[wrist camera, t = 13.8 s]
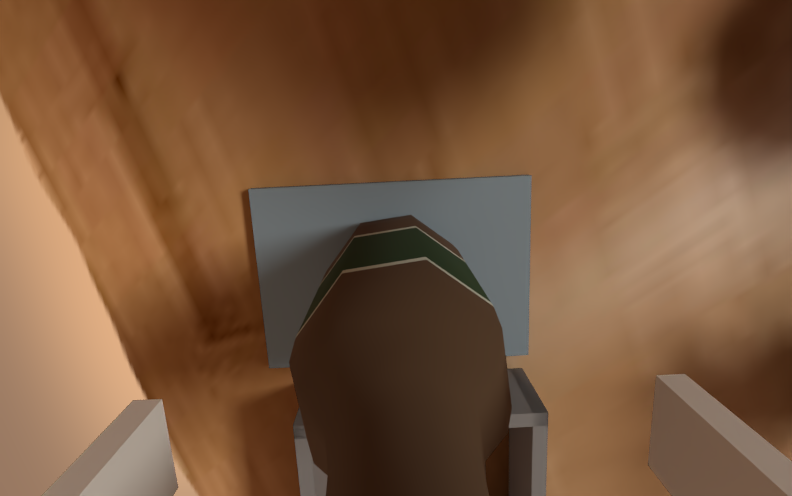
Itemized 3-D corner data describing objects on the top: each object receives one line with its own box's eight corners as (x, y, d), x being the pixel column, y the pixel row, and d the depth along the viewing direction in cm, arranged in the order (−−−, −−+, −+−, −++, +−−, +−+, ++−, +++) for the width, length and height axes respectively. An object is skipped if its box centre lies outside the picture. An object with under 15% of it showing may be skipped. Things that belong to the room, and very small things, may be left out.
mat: (251, 188, 27) (248, 189, 27) (528, 174, 27) (531, 175, 27) (271, 363, 30) (269, 368, 29) (525, 350, 30) (528, 354, 29)
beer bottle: (317, 322, 29) (5, 1151, 5) (344, 196, 27) (58, 582, 4) (442, 348, 29) (670, 1207, 6) (476, 226, 27) (992, 737, 4)
